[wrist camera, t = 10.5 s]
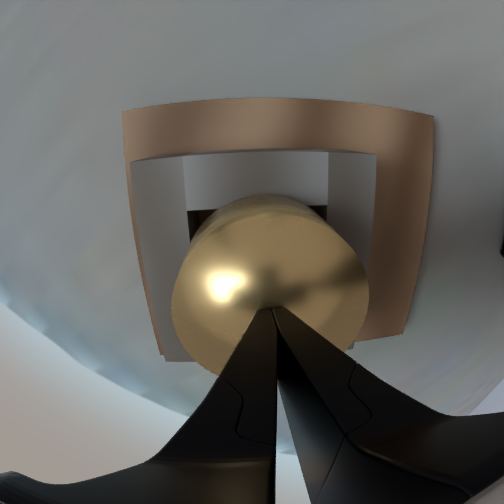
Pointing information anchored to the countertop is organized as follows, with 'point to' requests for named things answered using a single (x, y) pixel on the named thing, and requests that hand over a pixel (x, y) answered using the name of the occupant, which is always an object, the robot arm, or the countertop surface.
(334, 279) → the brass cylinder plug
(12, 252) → the countertop surface
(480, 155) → the countertop surface
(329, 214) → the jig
